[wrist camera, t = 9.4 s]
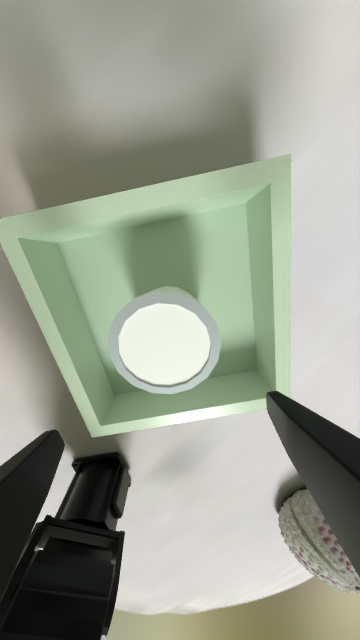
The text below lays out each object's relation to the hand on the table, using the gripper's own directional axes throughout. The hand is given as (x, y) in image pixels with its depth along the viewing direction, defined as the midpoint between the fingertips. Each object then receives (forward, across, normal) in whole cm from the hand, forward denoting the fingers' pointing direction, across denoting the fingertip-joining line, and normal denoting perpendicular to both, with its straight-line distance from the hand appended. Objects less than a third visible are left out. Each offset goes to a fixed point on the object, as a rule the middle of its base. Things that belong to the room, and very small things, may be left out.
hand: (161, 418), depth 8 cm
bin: (+12, 0, -1) cm, 12 cm away
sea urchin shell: (+12, -16, +35) cm, 40 cm away
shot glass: (+11, 0, -1) cm, 11 cm away
